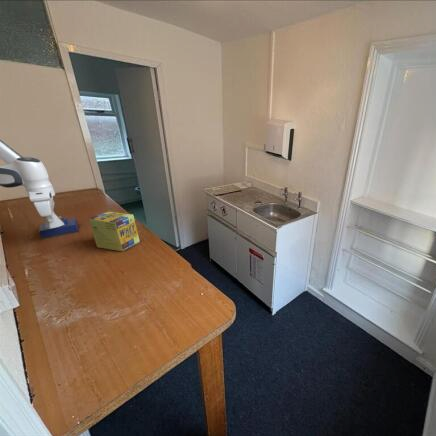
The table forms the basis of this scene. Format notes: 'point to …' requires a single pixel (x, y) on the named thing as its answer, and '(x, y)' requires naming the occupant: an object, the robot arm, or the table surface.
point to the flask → (55, 223)
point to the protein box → (114, 231)
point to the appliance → (60, 228)
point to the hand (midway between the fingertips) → (52, 219)
